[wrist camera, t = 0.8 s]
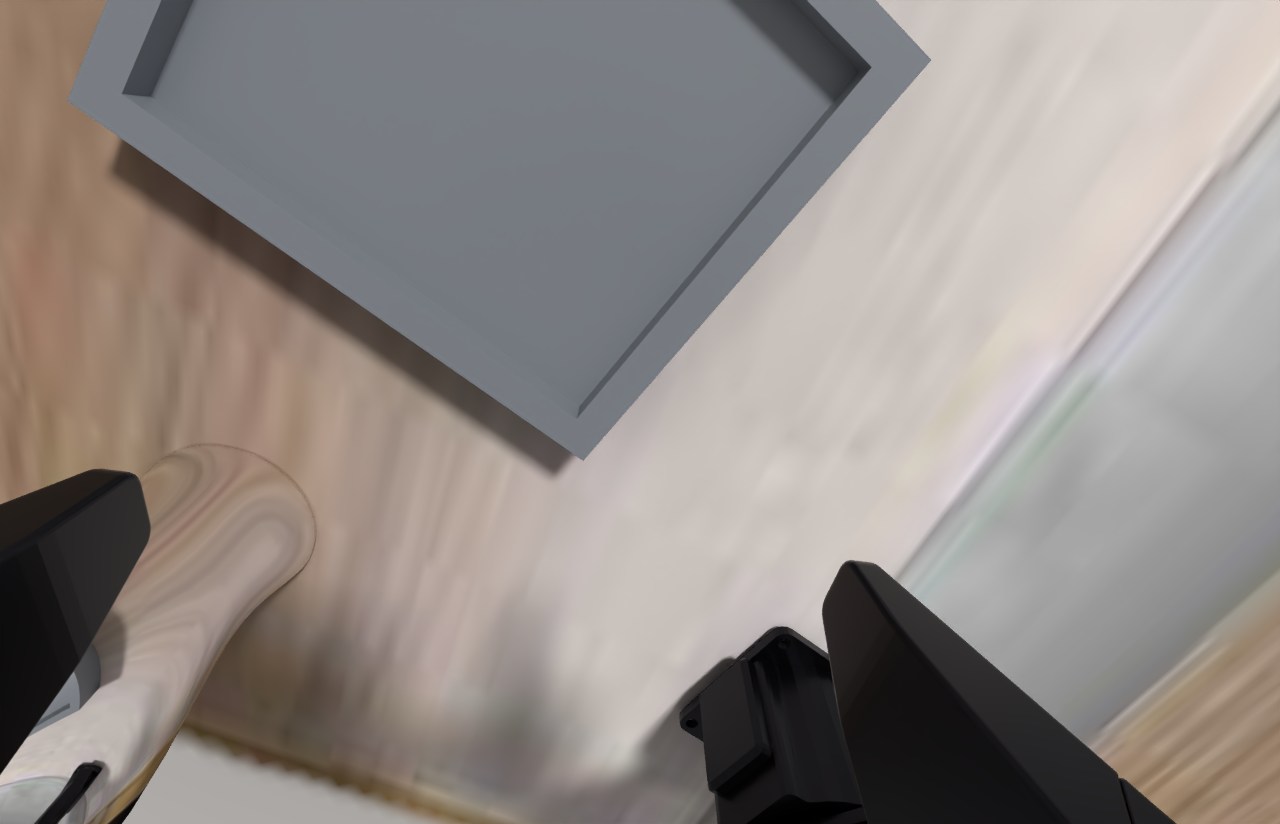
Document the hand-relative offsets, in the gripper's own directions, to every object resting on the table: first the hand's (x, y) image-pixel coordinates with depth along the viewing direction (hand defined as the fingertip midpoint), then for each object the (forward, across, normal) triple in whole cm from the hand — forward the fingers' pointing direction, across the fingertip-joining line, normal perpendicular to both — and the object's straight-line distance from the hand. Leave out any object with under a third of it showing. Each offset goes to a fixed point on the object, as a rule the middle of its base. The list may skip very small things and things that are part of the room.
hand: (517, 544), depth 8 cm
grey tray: (+14, +2, -4) cm, 14 cm away
